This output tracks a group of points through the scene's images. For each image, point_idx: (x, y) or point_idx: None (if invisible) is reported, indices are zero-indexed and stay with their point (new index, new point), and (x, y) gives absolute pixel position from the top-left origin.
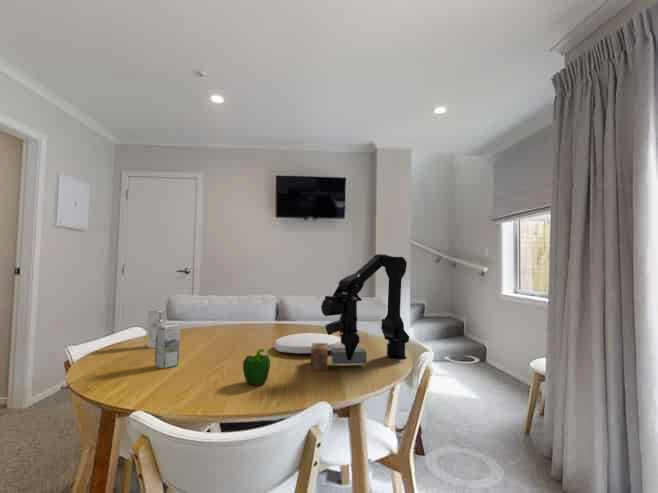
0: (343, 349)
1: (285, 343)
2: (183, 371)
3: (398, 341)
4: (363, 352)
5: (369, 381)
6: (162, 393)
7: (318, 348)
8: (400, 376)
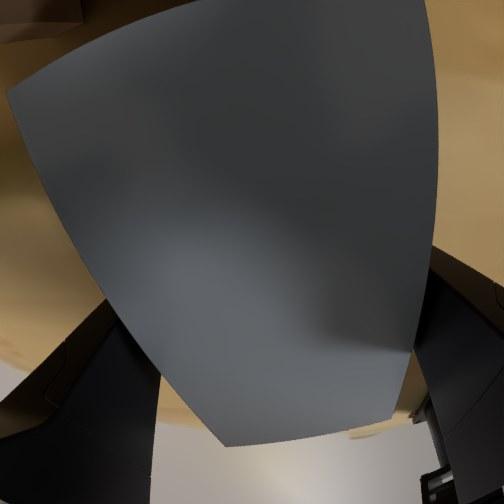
0: (310, 268)
1: None
2: None
3: (433, 477)
4: (216, 432)
5: (22, 334)
6: None
7: None
8: (157, 421)
